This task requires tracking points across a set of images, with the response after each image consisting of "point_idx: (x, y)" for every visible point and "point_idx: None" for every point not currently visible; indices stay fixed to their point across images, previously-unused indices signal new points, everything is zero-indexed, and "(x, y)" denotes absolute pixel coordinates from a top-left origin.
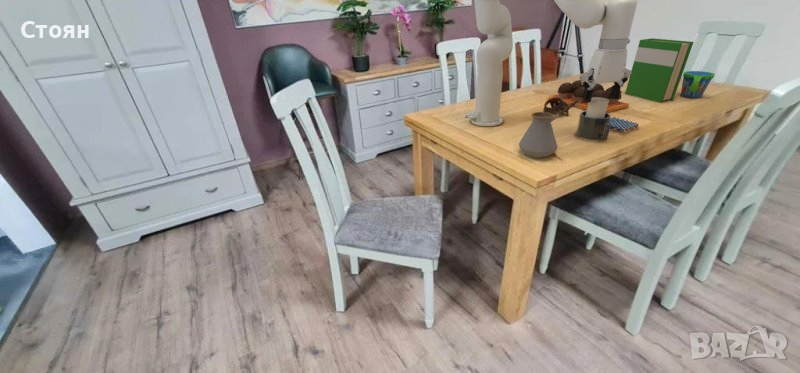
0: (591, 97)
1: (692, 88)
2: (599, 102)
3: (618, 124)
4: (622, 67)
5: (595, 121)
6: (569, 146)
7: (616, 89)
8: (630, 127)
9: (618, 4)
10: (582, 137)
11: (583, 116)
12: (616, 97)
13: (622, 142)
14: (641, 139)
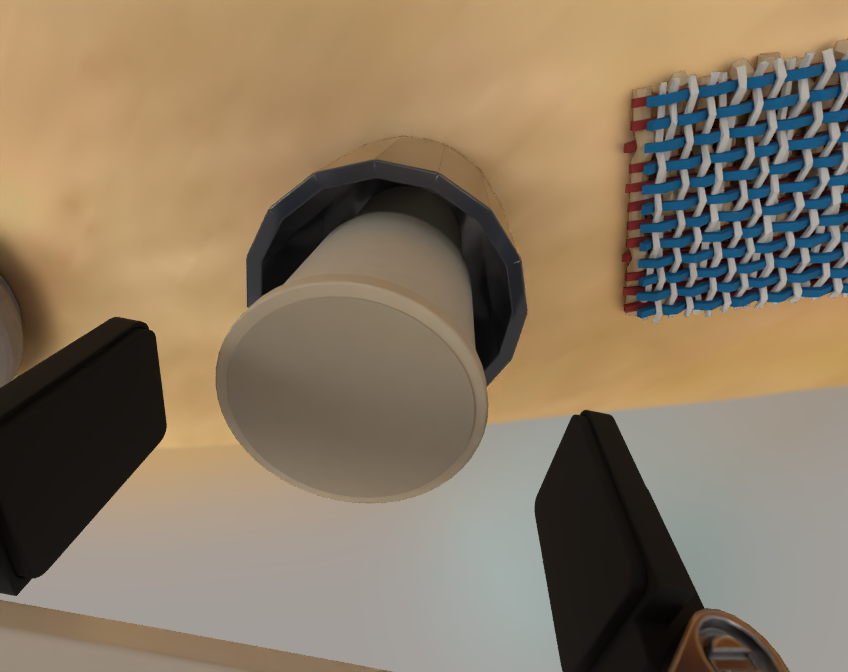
0: (123, 481)
1: None
2: (275, 474)
3: (736, 227)
4: None
5: None
6: (181, 299)
7: (568, 619)
8: (750, 299)
9: None
10: None
11: (247, 288)
12: (545, 523)
13: (501, 387)
14: (633, 404)
